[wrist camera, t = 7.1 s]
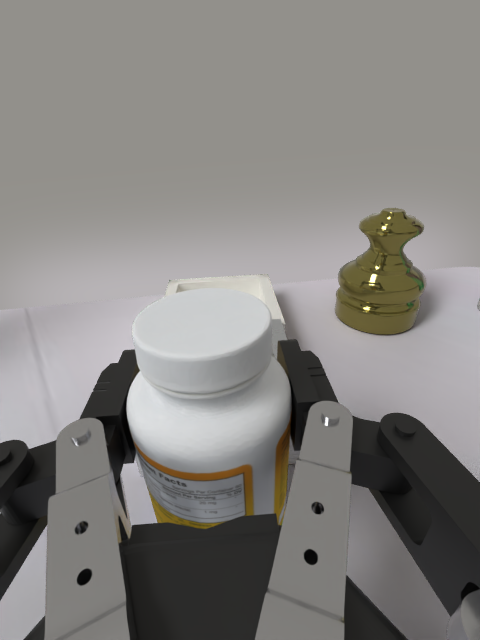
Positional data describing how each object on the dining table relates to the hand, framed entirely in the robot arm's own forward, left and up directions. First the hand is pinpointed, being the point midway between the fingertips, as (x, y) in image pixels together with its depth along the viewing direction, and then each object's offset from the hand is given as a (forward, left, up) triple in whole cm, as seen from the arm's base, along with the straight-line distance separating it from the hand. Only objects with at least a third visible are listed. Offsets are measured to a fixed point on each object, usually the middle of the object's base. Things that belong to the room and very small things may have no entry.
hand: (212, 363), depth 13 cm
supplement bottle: (0, -3, -6) cm, 7 cm away
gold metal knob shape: (+13, +17, -8) cm, 23 cm away
